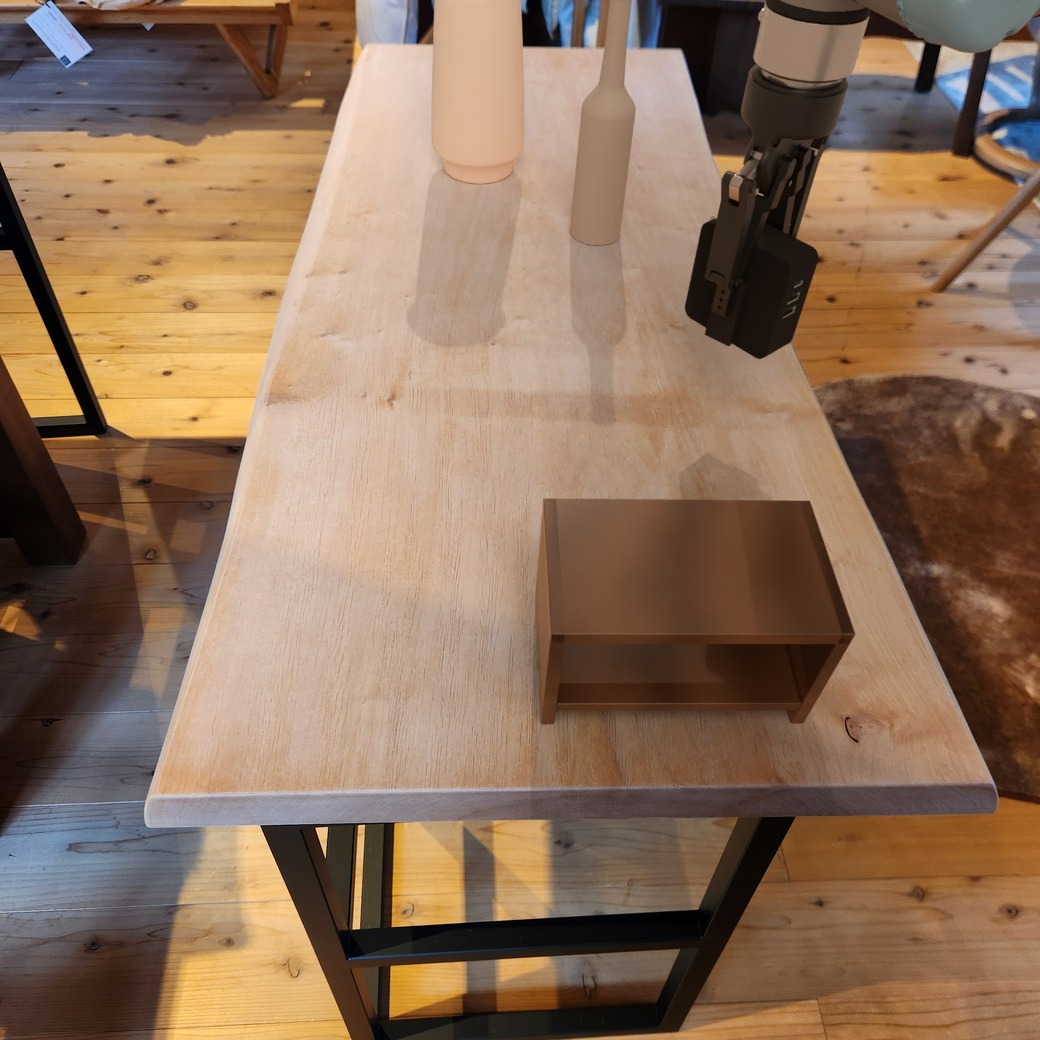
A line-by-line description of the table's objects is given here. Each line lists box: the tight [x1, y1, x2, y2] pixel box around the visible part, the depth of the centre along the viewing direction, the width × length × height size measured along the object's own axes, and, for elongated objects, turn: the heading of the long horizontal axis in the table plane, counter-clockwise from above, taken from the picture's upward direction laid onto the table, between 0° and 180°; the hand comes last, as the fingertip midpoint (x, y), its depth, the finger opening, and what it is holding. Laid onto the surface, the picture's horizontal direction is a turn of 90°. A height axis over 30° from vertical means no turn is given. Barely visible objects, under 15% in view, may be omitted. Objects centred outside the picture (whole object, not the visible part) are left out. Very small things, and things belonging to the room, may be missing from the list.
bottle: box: [569, 0, 637, 246], centre depth 101 cm, size 7×7×28 cm
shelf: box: [535, 497, 856, 725], centre depth 63 cm, size 20×12×12 cm, turn 91°
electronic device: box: [684, 215, 820, 360], centre depth 78 cm, size 4×10×10 cm, turn 40°
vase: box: [430, 0, 526, 185], centre depth 112 cm, size 13×13×28 cm
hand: (733, 326), depth 82 cm, fingers closed on electronic device, 5 cm apart
